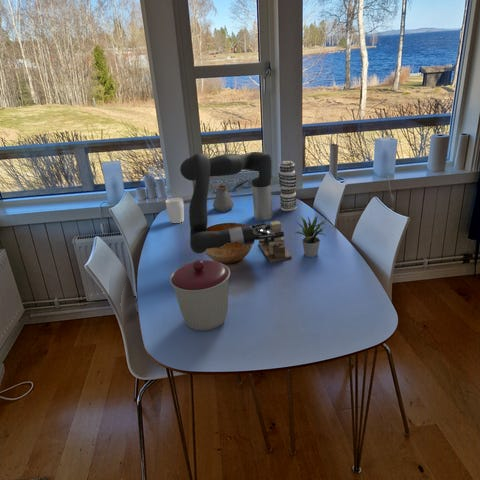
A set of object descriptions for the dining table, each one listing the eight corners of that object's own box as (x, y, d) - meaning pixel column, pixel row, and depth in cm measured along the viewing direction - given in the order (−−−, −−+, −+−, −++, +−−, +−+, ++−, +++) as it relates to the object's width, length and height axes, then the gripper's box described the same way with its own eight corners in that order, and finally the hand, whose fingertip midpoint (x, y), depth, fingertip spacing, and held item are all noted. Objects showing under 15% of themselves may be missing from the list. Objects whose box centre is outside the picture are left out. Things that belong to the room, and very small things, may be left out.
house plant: (330, 263, 154) (330, 224, 148) (293, 263, 157) (292, 224, 151) (330, 247, 167) (330, 210, 160) (296, 247, 170) (295, 211, 163)
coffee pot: (214, 214, 217) (210, 187, 210) (212, 207, 227) (209, 181, 221) (253, 209, 218) (251, 182, 212) (250, 202, 229) (248, 177, 223)
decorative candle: (276, 207, 217) (274, 161, 207) (291, 204, 221) (289, 158, 211) (285, 212, 210) (283, 164, 200) (300, 208, 213) (299, 161, 203)
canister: (182, 344, 117) (171, 281, 109) (174, 312, 133) (163, 254, 125) (242, 329, 121) (235, 267, 113) (226, 299, 137) (220, 243, 129)
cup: (184, 224, 206) (181, 202, 201) (167, 225, 207) (163, 203, 202) (187, 218, 214) (184, 196, 210) (170, 219, 215) (166, 197, 210)
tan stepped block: (269, 251, 165) (267, 222, 160) (282, 248, 166) (281, 220, 161) (271, 254, 162) (269, 225, 157) (284, 251, 163) (283, 223, 158)
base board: (258, 244, 176) (257, 233, 174) (278, 241, 177) (277, 229, 175) (269, 262, 160) (269, 249, 157) (291, 258, 161) (291, 246, 159)
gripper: (243, 234, 150) (285, 227, 153) (236, 221, 163) (274, 215, 166) (245, 252, 153) (286, 245, 156) (237, 238, 166) (275, 231, 169)
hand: (280, 229), depth 161 cm, fingers open, 8 cm apart
